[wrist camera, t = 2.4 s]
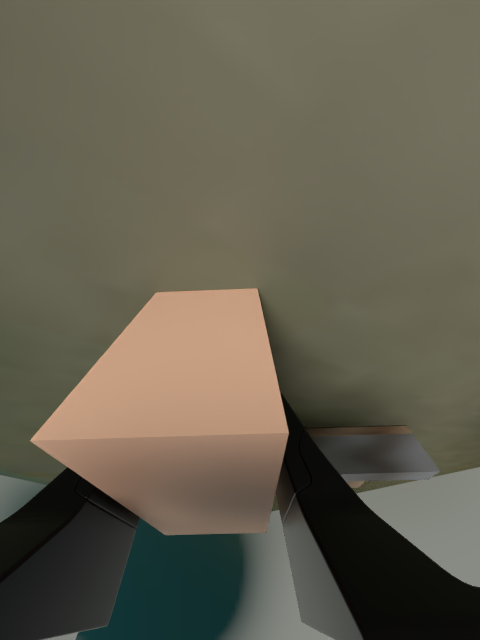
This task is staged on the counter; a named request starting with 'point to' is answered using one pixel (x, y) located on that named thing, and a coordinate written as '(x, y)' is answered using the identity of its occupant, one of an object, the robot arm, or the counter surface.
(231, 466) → the terracotta block
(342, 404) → the counter surface
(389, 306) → the counter surface
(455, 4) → the counter surface
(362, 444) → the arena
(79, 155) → the counter surface
